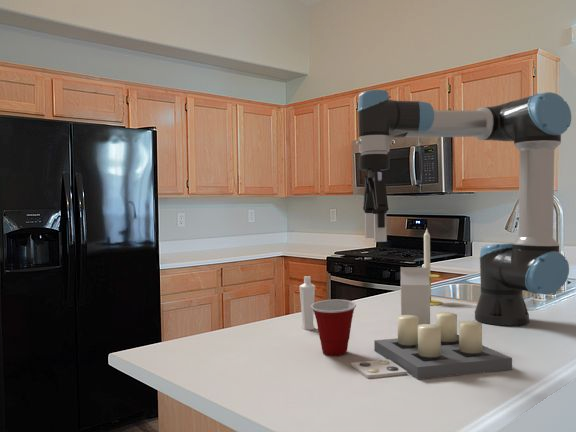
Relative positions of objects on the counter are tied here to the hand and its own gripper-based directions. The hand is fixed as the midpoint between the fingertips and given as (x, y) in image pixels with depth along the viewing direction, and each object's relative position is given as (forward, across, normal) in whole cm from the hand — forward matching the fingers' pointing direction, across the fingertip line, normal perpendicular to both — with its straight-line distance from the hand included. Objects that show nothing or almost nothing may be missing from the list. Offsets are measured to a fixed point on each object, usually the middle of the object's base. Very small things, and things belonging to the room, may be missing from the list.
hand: (375, 239), depth 130 cm
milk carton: (+27, -6, +11) cm, 30 cm away
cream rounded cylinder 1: (+24, +6, +16) cm, 29 cm away
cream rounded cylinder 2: (+24, +15, +18) cm, 33 cm away
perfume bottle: (+27, -21, -16) cm, 38 cm away
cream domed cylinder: (+24, +18, +8) cm, 31 cm away
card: (+27, +18, -3) cm, 32 cm away
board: (+27, +12, +12) cm, 31 cm away
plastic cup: (+27, +4, -11) cm, 29 cm away
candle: (+27, -56, +29) cm, 68 cm away
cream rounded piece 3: (+24, +8, +6) cm, 26 cm away
